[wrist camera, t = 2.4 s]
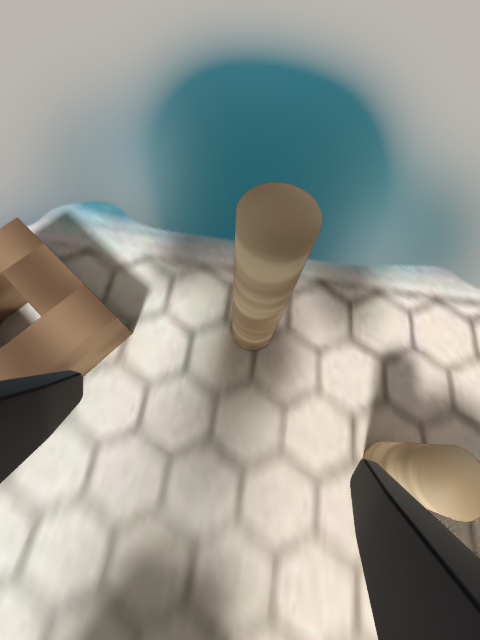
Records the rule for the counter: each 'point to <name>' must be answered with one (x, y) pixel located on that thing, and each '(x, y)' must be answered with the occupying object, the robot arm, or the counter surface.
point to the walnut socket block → (50, 311)
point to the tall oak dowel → (269, 257)
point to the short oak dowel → (433, 475)
